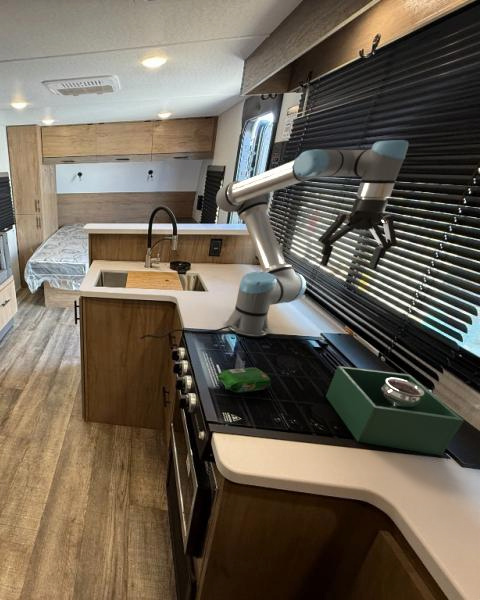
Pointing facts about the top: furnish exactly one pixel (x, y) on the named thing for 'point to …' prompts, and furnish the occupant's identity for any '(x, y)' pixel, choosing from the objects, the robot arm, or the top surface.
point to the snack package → (244, 380)
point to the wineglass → (401, 392)
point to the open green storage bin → (391, 413)
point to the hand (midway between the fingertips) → (347, 266)
